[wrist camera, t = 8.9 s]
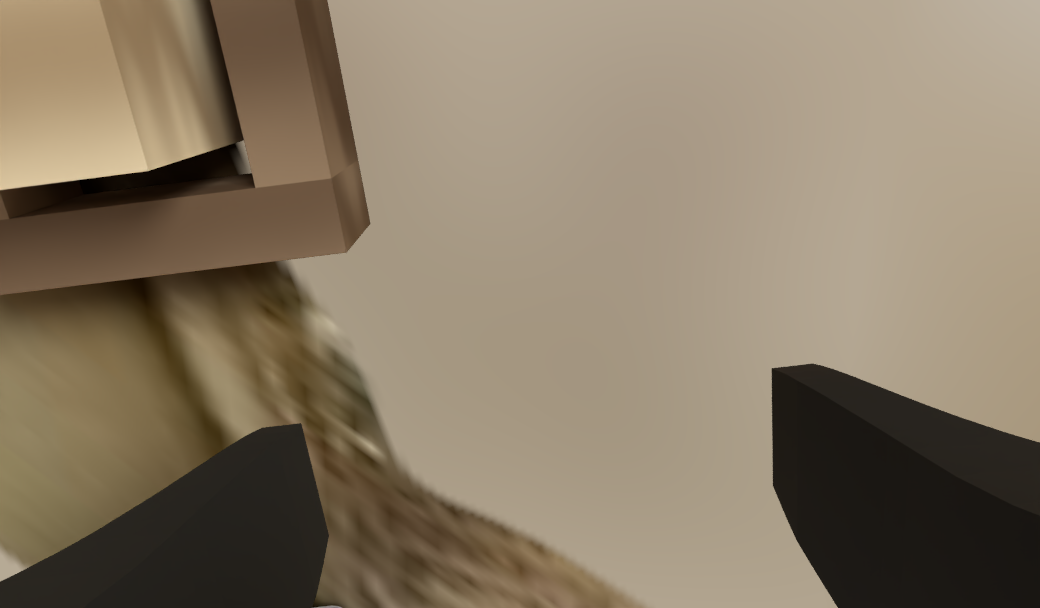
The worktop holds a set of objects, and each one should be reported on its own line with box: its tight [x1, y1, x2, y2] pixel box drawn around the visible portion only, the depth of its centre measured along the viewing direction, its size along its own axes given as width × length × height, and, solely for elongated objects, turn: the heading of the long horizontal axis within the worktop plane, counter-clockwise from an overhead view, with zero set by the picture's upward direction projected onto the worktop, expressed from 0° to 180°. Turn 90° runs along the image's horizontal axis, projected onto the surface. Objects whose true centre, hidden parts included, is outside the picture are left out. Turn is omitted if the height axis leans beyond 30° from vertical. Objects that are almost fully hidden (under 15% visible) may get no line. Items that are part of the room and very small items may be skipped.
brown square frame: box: [0, 0, 370, 295], centre depth 17 cm, size 9×9×3 cm
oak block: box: [0, 0, 244, 190], centre depth 15 cm, size 4×4×6 cm
